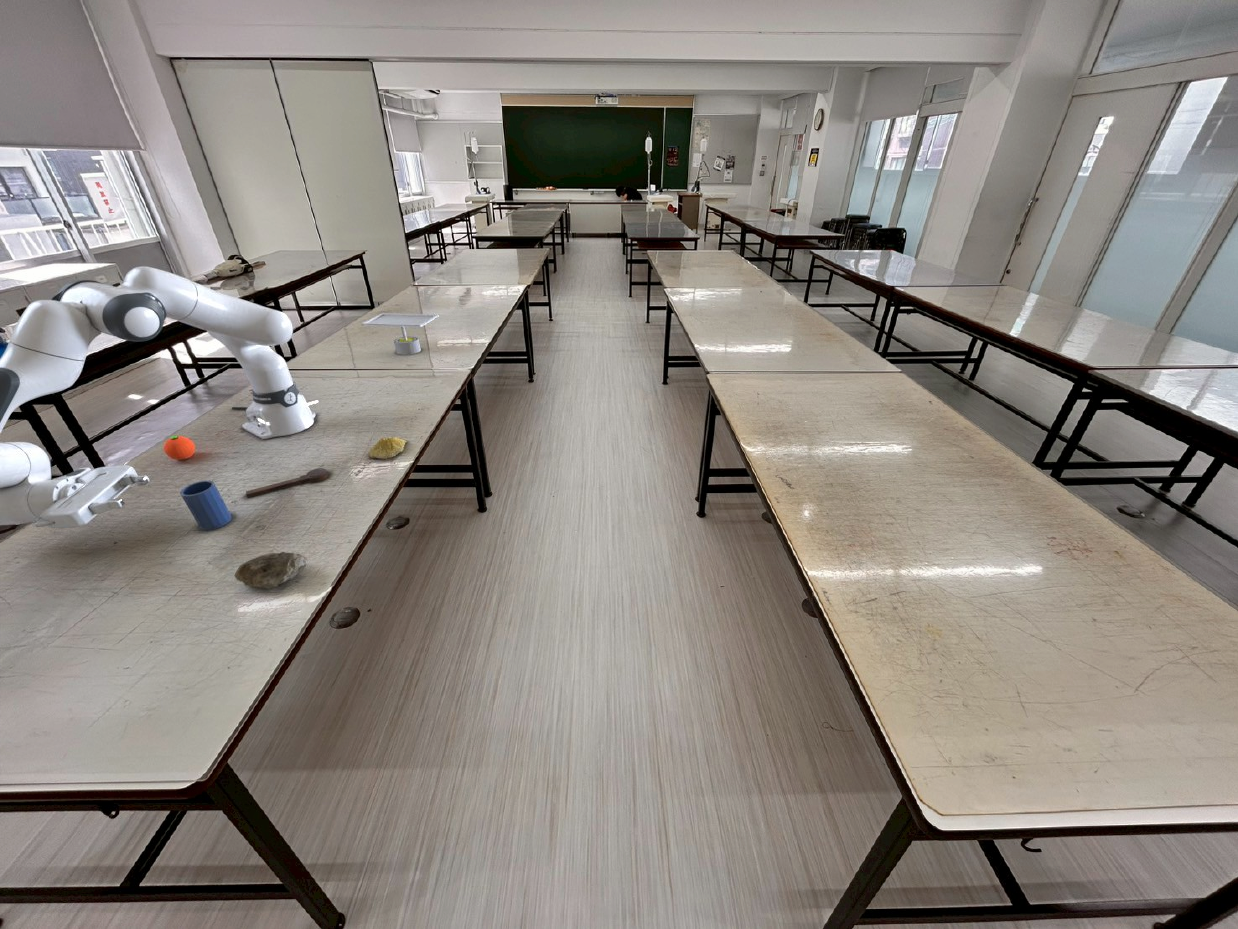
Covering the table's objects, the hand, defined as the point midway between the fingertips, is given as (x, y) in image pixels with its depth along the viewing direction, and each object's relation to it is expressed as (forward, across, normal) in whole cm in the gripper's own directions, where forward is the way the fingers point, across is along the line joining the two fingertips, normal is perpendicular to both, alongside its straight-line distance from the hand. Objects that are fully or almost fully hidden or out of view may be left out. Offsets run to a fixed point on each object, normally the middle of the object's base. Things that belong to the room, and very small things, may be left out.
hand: (134, 491), depth 112 cm
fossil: (+48, +27, +11) cm, 56 cm away
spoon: (+24, +14, +11) cm, 30 cm away
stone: (+34, -24, +11) cm, 44 cm away
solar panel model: (+40, +123, +11) cm, 130 cm away
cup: (+12, 0, +11) cm, 16 cm away
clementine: (-12, +37, +11) cm, 41 cm away
